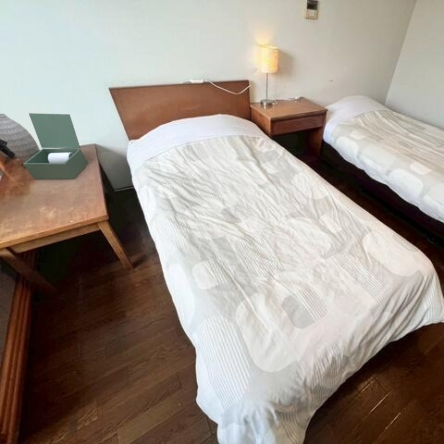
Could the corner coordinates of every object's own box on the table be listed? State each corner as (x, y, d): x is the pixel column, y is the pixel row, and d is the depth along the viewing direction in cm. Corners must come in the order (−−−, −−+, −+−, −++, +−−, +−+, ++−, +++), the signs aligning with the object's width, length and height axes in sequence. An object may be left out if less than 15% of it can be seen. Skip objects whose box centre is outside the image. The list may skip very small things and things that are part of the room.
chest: (74, 179, 140) (64, 163, 133) (34, 179, 137) (22, 164, 130) (88, 163, 152) (80, 148, 146) (52, 163, 149) (42, 148, 143)
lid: (68, 114, 138) (74, 114, 142) (28, 113, 135) (35, 113, 139) (79, 148, 145) (84, 147, 149) (41, 147, 142) (47, 146, 146)
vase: (47, 155, 155) (16, 109, 136) (48, 164, 148) (15, 117, 129) (20, 160, 149) (-16, 112, 130) (20, 170, 142) (-19, 120, 123)
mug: (59, 159, 148) (49, 150, 141) (78, 158, 150) (70, 149, 143) (54, 175, 142) (44, 166, 136) (74, 174, 145) (65, 165, 138)
